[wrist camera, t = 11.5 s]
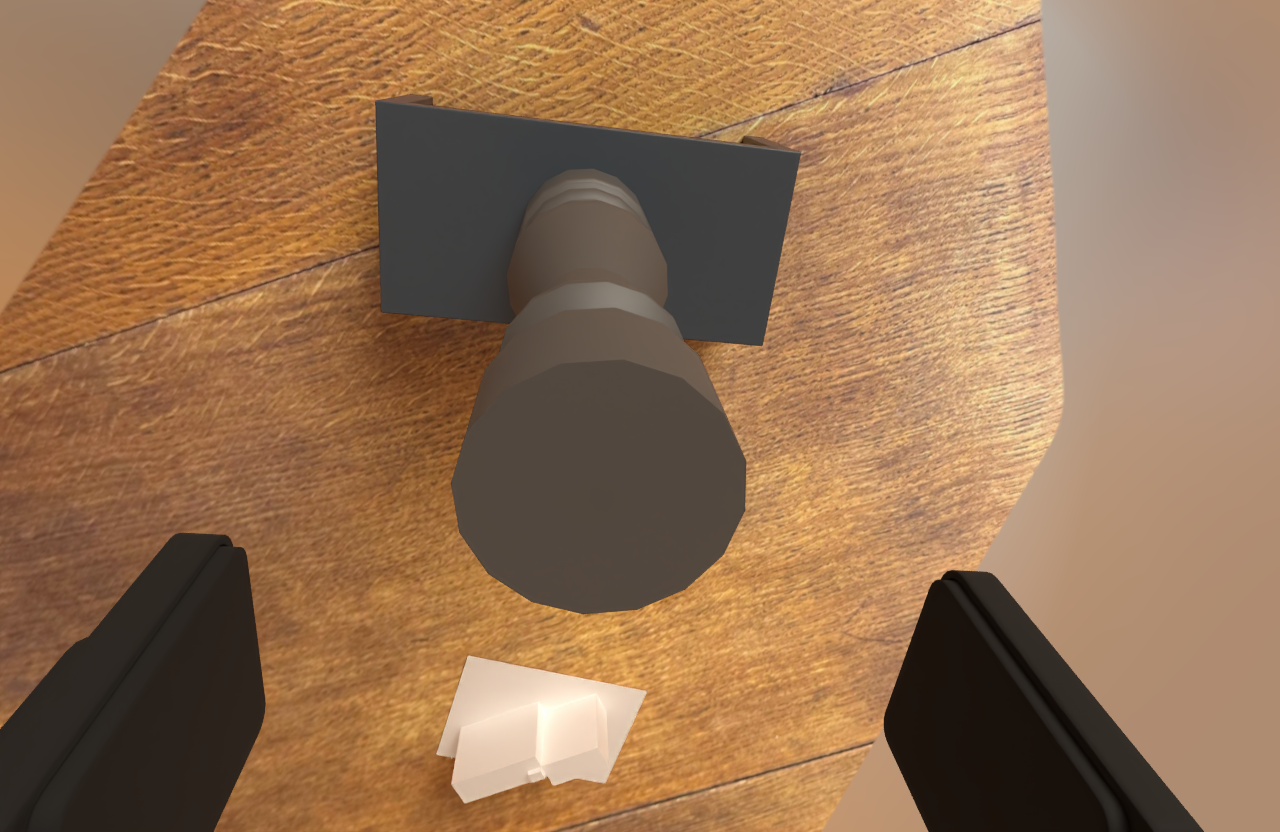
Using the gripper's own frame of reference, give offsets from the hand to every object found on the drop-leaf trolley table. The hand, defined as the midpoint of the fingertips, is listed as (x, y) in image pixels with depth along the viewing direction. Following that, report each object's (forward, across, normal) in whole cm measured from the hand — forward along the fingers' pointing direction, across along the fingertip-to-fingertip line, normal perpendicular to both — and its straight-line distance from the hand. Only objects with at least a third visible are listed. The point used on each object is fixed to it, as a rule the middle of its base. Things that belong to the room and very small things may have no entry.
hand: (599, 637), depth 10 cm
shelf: (+37, 0, +1) cm, 37 cm away
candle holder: (+29, 0, +1) cm, 29 cm away
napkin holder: (+37, -1, +43) cm, 57 cm away
